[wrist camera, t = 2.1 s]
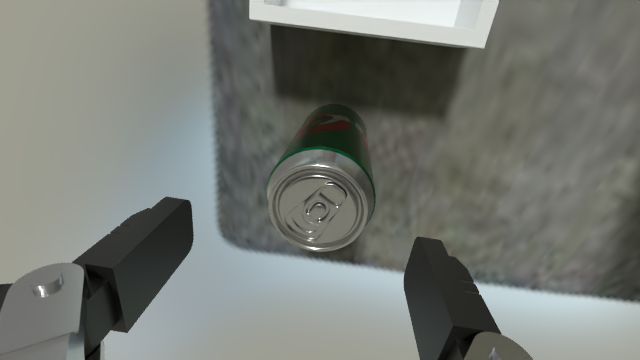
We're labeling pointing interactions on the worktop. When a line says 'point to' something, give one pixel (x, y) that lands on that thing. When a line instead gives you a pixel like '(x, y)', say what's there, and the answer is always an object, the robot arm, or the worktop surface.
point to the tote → (386, 18)
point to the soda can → (323, 182)
